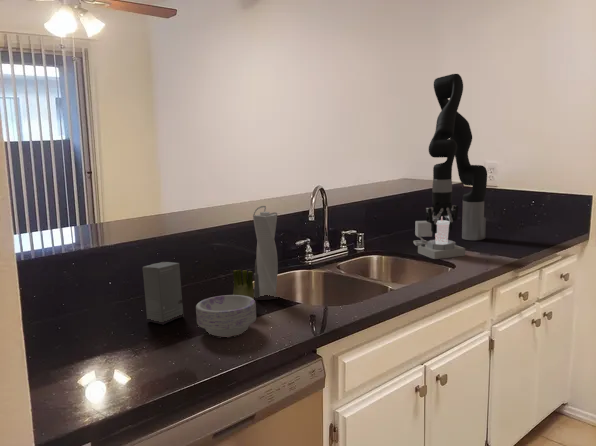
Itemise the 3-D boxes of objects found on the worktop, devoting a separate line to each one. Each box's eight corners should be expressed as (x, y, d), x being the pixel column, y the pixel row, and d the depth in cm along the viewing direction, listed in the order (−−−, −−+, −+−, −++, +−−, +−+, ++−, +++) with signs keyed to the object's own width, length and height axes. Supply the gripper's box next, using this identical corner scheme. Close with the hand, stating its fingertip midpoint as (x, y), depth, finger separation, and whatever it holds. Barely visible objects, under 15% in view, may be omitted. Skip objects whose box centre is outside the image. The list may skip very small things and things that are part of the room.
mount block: (447, 249, 228) (447, 237, 227) (465, 255, 217) (465, 243, 216) (417, 253, 223) (418, 241, 222) (434, 259, 212) (434, 246, 211)
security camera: (432, 245, 237) (432, 222, 235) (415, 245, 237) (416, 223, 235) (429, 242, 243) (429, 220, 241) (413, 243, 243) (413, 220, 241)
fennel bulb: (256, 310, 158) (254, 269, 156) (244, 314, 154) (242, 273, 152) (242, 306, 162) (241, 266, 160) (230, 310, 158) (228, 270, 156)
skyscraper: (253, 293, 174) (249, 206, 170) (279, 291, 175) (276, 204, 171) (254, 301, 166) (250, 209, 161) (281, 299, 167) (278, 208, 162)
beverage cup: (450, 245, 216) (450, 210, 213) (434, 245, 217) (434, 210, 215) (448, 242, 222) (449, 207, 219) (433, 242, 223) (433, 208, 220)
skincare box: (163, 326, 146) (159, 269, 144) (144, 322, 150) (140, 266, 148) (185, 317, 154) (181, 262, 151) (167, 313, 157) (163, 259, 155)
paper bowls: (217, 319, 151) (215, 291, 150) (266, 325, 146) (265, 296, 144) (185, 338, 138) (183, 308, 136) (239, 346, 132) (237, 314, 130)
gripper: (452, 188, 221) (451, 229, 224) (421, 190, 217) (420, 232, 220) (463, 190, 214) (462, 232, 217) (431, 192, 210) (431, 235, 213)
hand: (441, 232), depth 218 cm, fingers closed on beverage cup, 6 cm apart
